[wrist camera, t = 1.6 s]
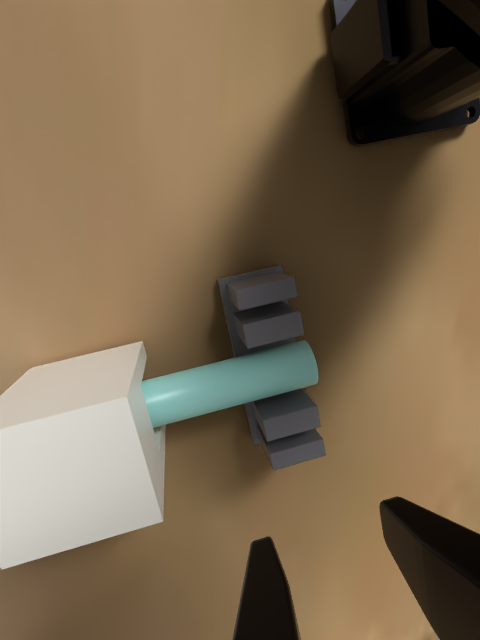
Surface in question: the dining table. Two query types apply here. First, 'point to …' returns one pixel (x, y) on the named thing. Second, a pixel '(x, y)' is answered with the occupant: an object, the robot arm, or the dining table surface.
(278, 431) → the grey ridged block
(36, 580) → the dining table surface
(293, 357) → the teal cylindrical rod
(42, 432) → the sleeve
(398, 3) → the robot arm
